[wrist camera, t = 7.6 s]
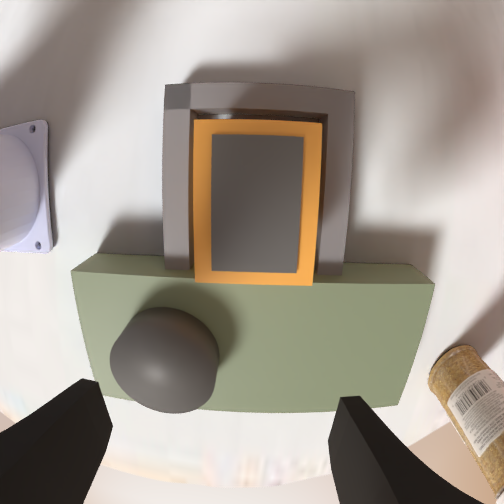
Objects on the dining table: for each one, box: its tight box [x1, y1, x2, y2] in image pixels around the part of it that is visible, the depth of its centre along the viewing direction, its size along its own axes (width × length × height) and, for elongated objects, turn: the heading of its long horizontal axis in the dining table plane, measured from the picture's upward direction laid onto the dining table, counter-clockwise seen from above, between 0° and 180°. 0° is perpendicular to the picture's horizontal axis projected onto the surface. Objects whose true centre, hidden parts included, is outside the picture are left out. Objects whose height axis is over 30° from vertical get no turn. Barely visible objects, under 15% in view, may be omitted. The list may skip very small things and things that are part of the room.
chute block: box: [193, 119, 322, 286], centre depth 13 cm, size 4×5×6 cm
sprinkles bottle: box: [428, 345, 504, 504], centre depth 13 cm, size 5×5×13 cm
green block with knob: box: [71, 82, 435, 413], centre depth 14 cm, size 18×17×5 cm
